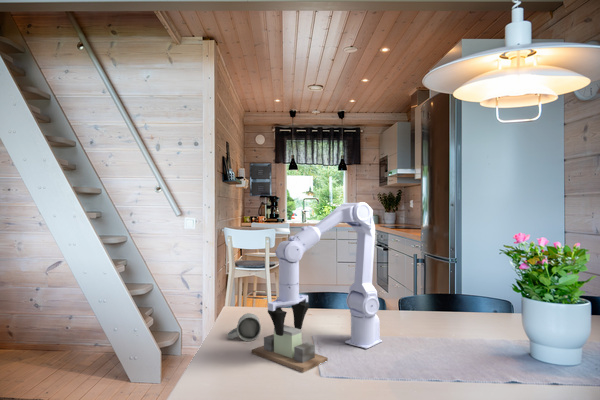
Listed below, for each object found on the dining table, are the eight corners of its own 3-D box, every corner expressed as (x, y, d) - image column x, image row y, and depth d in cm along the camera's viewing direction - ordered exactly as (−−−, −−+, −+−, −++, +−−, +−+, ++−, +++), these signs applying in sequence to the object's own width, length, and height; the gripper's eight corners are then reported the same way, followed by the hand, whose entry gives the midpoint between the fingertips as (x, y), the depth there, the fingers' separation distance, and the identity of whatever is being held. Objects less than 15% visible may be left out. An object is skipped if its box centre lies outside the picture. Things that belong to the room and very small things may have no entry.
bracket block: (283, 348, 113) (283, 324, 113) (301, 354, 108) (301, 329, 109) (273, 351, 110) (274, 327, 110) (291, 358, 105) (291, 332, 106)
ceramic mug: (259, 332, 131) (259, 310, 131) (261, 340, 123) (260, 316, 123) (227, 335, 129) (227, 311, 129) (227, 343, 121) (226, 318, 121)
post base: (276, 344, 119) (276, 329, 119) (327, 361, 106) (327, 344, 106) (251, 353, 112) (251, 337, 112) (303, 372, 98) (303, 354, 99)
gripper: (295, 278, 118) (295, 323, 117) (260, 285, 107) (260, 334, 106) (313, 281, 113) (313, 328, 112) (278, 288, 102) (278, 340, 102)
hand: (288, 331), depth 109 cm, fingers open, 7 cm apart
